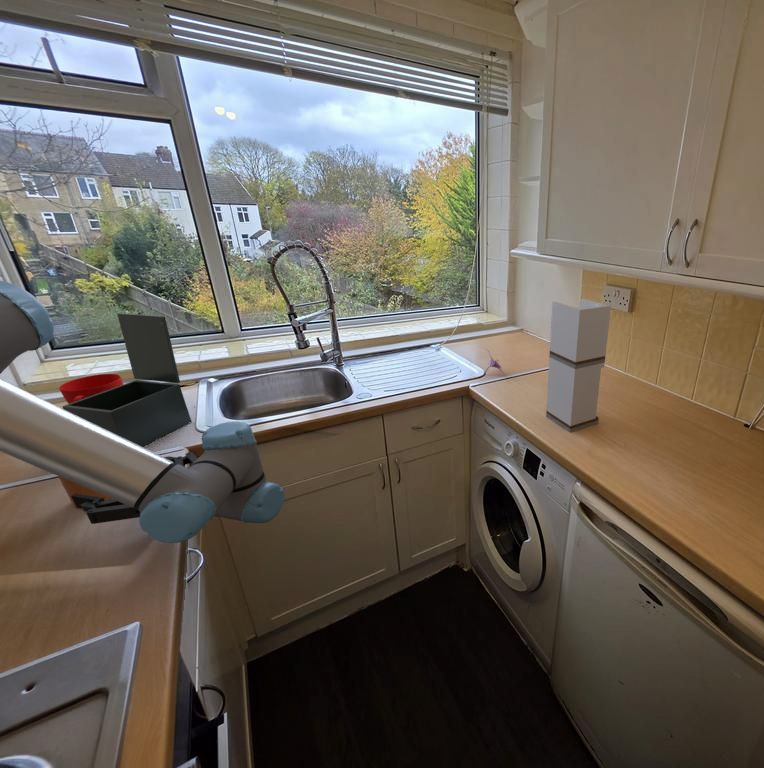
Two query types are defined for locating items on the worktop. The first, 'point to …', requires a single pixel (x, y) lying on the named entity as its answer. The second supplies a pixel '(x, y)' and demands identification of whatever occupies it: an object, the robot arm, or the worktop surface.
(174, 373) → the bin lid
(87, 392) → the red bowl
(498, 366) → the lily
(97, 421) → the bin
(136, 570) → the worktop surface
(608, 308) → the white tall square block
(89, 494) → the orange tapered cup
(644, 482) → the worktop surface
